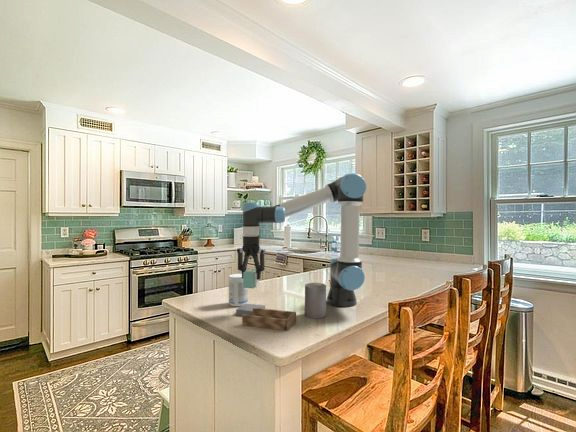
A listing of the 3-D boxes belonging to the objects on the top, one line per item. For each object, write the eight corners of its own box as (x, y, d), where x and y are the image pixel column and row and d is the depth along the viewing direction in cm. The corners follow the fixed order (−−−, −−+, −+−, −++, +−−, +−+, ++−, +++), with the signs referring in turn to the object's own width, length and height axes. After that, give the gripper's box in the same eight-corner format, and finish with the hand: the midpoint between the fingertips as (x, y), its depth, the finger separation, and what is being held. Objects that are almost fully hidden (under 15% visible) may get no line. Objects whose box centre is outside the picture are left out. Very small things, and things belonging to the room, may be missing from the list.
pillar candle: (304, 311, 147) (304, 279, 146) (325, 311, 146) (325, 279, 146) (305, 318, 137) (305, 284, 137) (327, 319, 137) (327, 284, 136)
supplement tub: (248, 301, 163) (248, 273, 163) (247, 307, 154) (247, 277, 154) (230, 301, 163) (230, 273, 163) (227, 307, 153) (227, 277, 153)
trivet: (265, 310, 148) (265, 305, 148) (256, 317, 138) (256, 311, 138) (246, 308, 151) (246, 303, 151) (236, 314, 141) (236, 309, 141)
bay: (296, 321, 133) (296, 311, 133) (287, 330, 122) (287, 320, 122) (253, 316, 139) (253, 307, 139) (242, 324, 129) (242, 315, 129)
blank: (258, 285, 146) (258, 270, 146) (253, 288, 141) (253, 273, 141) (248, 284, 148) (248, 270, 148) (243, 287, 142) (243, 272, 142)
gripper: (272, 235, 145) (272, 285, 145) (237, 234, 151) (237, 283, 151) (266, 236, 138) (266, 289, 138) (229, 235, 144) (229, 286, 144)
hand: (251, 286), depth 144 cm, fingers closed on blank, 5 cm apart
